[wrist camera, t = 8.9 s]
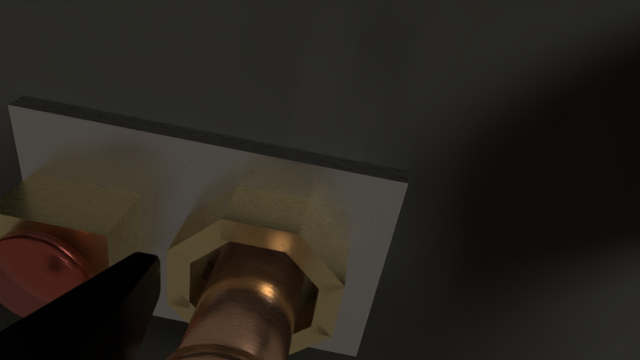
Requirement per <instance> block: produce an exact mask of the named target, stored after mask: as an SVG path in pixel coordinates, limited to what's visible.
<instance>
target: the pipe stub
mask: <svg viewBox="0 0 640 360" xmlns="http://www.w3.org/2000/svg"><path fill="white" fill-rule="evenodd" d="M304 277H305V273H304V272H303V271H302V270H301V268H300V267H299V266H298V265H297V264H296V263H295V262H294V261H293V260H292V258H291V257H290V256H289V255H288V254H287V253H286V252H282V251H277V250H272V249H267V248H262V247H257V246H252V245H247V244H242V243H237V242H232V241H229V242H228V243H226V244H224V246H223V249H222V251H221V253H220V255H219V258H218V260H217V262H216V264H215V266H214V269H213V271H212V273H211V275H210V278H209V280H208V282H207V284H206V286H205V289H204V291H203V293H202V295H201V298H200V300H199V302H198V304H197V306H196V309H195V311H194V313H193V315H192V317H191V320H190V322H189V324H188V326H187V329H186V331H185V333H184V335H183V337H182V340H181V342H180V344H179V346H178V349H177V350H175V351H174V352H172V353H170V354H169V355H168V356H167V357H166V358H165V359H164V360H288V355H289V350H290V346H291V341H292V336H293V331H294V326H295V321H296V316H297V311H298V306H299V301H300V297H301V292H302V287H303V282H304Z"/></svg>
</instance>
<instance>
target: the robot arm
mask: <svg viewBox="0 0 640 360" xmlns="http://www.w3.org/2000/svg"><path fill="white" fill-rule="evenodd" d="M160 291H161V271H160V259H159V257H158V256H157V255H154V254H149V253H144V252H134V253H132V254H131V255H129V256H127V257H125V258H124V259H122V260H120V261H119V262H117V263H115V264H114V265H112V266H110V267H109V268H107V269H105V270H104V271H102V272H100V273H98V274H97V275H95V276H93V277H92V278H90V279H88V280H87V281H85V282H83V283H82V284H80V285H78V286H76V287H75V288H73V289H71V290H70V291H68V292H66V293H65V294H63V295H61V296H60V297H58V298H56V299H55V300H53V301H51V302H49V303H48V304H46V305H44V306H43V307H41V308H39V309H38V310H36V311H34V312H33V313H31V314H29V315H27V316H26V317H24V318H22V319H21V320H19V321H17V322H16V323H14V324H12V325H11V326H9V327H7V328H6V329H4V330H2V331H0V360H134V359H135V357H136V354H137V352H138V349H139V347H140V345H141V342H142V340H143V337H144V335H145V332H146V330H147V327H148V325H149V322H150V320H151V317H152V315H153V312H154V310H155V307H156V305H157V302H158V300H159V296H160Z"/></svg>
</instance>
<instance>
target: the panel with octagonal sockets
mask: <svg viewBox="0 0 640 360" xmlns="http://www.w3.org/2000/svg"><path fill="white" fill-rule="evenodd" d="M8 108H9V113H10V118H11V123H12V128H13V134H14V139H15V144H16V149H17V154H18V159H19V164H20V169H21V174H22V179H23V181H22V182H21V183H20V184H18V185H17V186H16V187H15V188H13V189H12V190H11V191H10V192H8V193H7V194H6V195H5V196H3V197H2V198H1V199H0V303H1V304H2V305H3V306H5V307H6V308H7V309H9V310H10V311H12V312H14V313H15V314H17V315H19V316H21V317H23V318H24V317H26V316H27V315H29V314H31V313H33V312H34V311H36V310H38V309H39V308H41V307H43V306H44V305H46V304H48V303H49V302H51V301H53V300H55V299H56V298H58V297H60V296H61V295H63V294H65V293H66V292H68V291H70V290H71V289H73V288H75V287H76V286H78V285H80V284H82V283H83V282H85V281H87V280H88V279H90V278H92V277H93V276H95V275H97V274H98V273H100V272H102V271H104V270H105V269H107V268H109V267H110V266H112V265H114V264H115V263H117V262H119V261H120V260H122V259H124V258H125V257H127V256H129V255H131V254H132V253H134V252H144V253H149V254H154V255H157V256H158V257H159V259H160V271H161V291H160V296H159V300H158V302H157V305H156V307H155V310H154V312H153V315H154V316H159V317H164V318H168V319H173V320H178V321H183V322H187V323H188V324H189V322H190V320H191V317H192V315H193V313H194V311H195V309H196V306H197V304H198V302H199V300H200V298H201V295H202V293H203V291H204V289H205V286H206V284H207V282H208V280H209V278H210V275H211V273H212V271H213V269H214V266H215V264H216V262H217V260H218V258H219V255H220V253H221V251H222V249H223V246H224V244H226V243H228V242H229V241H232V242H237V243H242V244H247V245H252V246H257V247H262V248H267V249H272V250H277V251H282V252H286V253H287V254H288V255H289V256H290V257H291V258H292V260H293V261H294V262H295V263H296V264H297V265H298V266H299V267H300V268H301V270H302V271H303V272H304V273H305V277H304V282H303V287H302V292H301V297H300V301H299V306H298V311H297V316H296V321H295V326H294V331H293V336H292V341H291V346H290V350H289V355H290V354H292V353H295V352H297V351H300V350H302V349H305V348H307V347H311V348H316V349H321V350H326V351H331V352H336V353H341V354H346V355H351V356H355V357H356V355H357V352H358V348H359V345H360V342H361V338H362V335H363V332H364V328H365V325H366V322H367V319H368V315H369V312H370V309H371V305H372V302H373V299H374V295H375V292H376V289H377V286H378V282H379V279H380V276H381V272H382V269H383V266H384V262H385V259H386V256H387V252H388V249H389V246H390V243H391V239H392V236H393V233H394V229H395V226H396V223H397V219H398V216H399V213H400V209H401V206H402V203H403V200H404V196H405V193H406V190H407V186H408V174H407V171H401V170H396V169H391V168H386V167H381V166H376V165H371V164H366V163H361V162H356V161H351V160H346V159H340V158H335V157H330V156H325V155H320V154H315V153H310V152H305V151H300V150H295V149H290V148H284V147H279V146H274V145H269V144H264V143H259V142H254V141H249V140H244V139H239V138H234V137H229V136H223V135H218V134H213V133H208V132H203V131H198V130H193V129H188V128H183V127H178V126H173V125H167V124H162V123H157V122H152V121H147V120H142V119H137V118H132V117H127V116H122V115H117V114H112V113H106V112H101V111H96V110H91V109H86V108H81V107H76V106H71V105H66V104H61V103H56V102H50V101H45V100H40V99H35V98H30V97H25V96H23V97H21V98H19V99H17V100H15V101H14V102H12V103H10V104H8Z"/></svg>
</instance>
